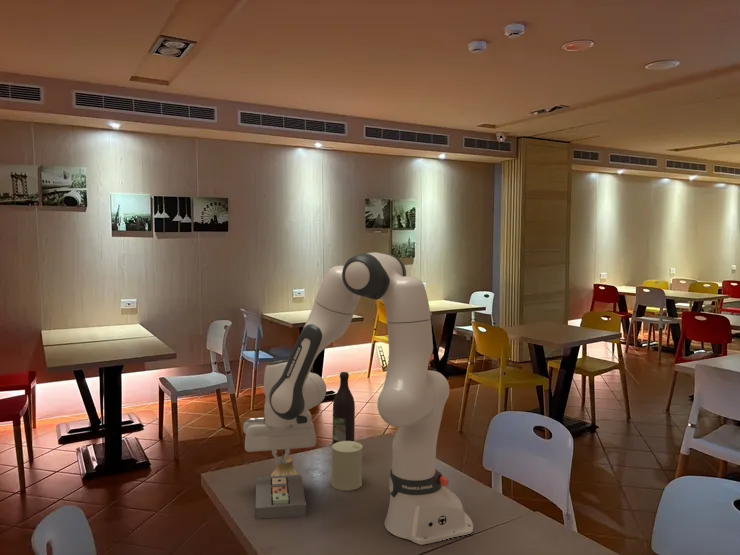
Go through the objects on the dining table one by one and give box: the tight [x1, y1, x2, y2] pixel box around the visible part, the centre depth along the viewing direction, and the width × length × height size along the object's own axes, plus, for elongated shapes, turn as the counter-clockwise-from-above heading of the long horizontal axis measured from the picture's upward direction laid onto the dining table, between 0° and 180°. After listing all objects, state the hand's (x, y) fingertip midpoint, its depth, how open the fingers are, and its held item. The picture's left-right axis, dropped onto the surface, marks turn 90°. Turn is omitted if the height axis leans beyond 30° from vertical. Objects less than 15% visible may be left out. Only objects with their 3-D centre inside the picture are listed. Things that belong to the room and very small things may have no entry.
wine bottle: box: [332, 371, 356, 445], centre depth 183 cm, size 7×7×30 cm
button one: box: [272, 477, 287, 485], centre depth 163 cm, size 4×4×3 cm
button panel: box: [255, 474, 307, 520], centre depth 157 cm, size 13×19×3 cm
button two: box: [273, 493, 288, 505], centre depth 151 cm, size 4×4×3 cm
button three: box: [272, 486, 287, 495], centre depth 157 cm, size 4×4×3 cm
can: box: [330, 440, 364, 492], centre depth 169 cm, size 9×9×12 cm
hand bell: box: [270, 449, 299, 477], centre depth 173 cm, size 8×8×16 cm
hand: (281, 463), depth 162 cm, fingers closed
